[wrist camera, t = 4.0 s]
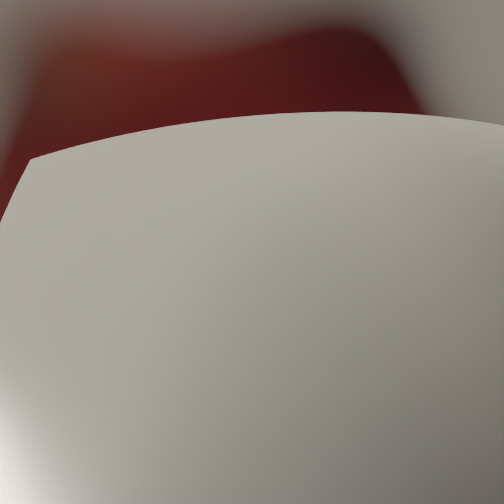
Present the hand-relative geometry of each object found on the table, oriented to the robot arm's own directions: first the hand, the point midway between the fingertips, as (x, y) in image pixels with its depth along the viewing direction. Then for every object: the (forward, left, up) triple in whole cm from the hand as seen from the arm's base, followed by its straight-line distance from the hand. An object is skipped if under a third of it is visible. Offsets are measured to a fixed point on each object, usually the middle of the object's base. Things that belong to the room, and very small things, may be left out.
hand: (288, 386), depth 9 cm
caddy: (-1, +1, -6) cm, 7 cm away
